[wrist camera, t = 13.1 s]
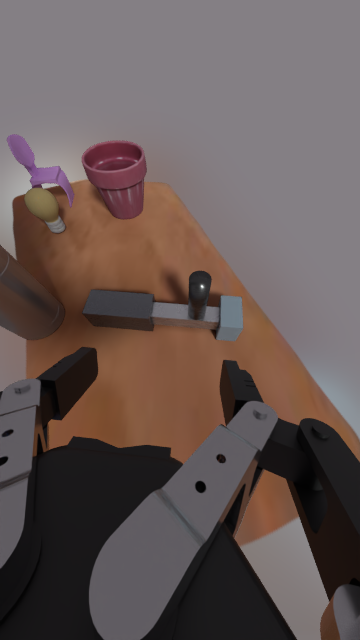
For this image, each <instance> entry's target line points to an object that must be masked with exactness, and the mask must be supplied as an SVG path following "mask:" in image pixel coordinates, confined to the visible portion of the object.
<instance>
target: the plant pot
mask: <svg viewBox="0 0 360 640" xmlns="http://www.w3.org/2000/svg"><path fill="white" fill-rule="evenodd" d="M82 163H83V166H84V169H85V172H86V174H87V177H88V179H89V181H90V182H91V183H92V184H93V185H95V186H96V188H97V189H98V191H99V193H100V195H101V196H102V198H103V200H104V201H105V203H106V205H107V206H108V208H109V210H110V212H111V213H112V215H113V216H114V217H116V218H119V219H131V218H134V217H136V216H138V215H139V214H140V213H141V212H142V210H143V198H144V177H145V175H146V172H147V168H146V161H145V156H144V151H143V149H142V148H141V147H140V146H139V145H137V144H135V143H133V142H128V141H107V142H102V143H99V144H96V145H94V146H92V147H90V148H89V149H87V150H86V151H85V152H84V153H83V156H82Z"/></svg>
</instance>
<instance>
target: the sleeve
mask: <svg viewBox="0 0 360 640" xmlns="http://www.w3.org/2000/svg"><path fill="white" fill-rule="evenodd" d="M153 302H155V298H154V294H142V293H129V292H116V291H103V290H91V291H90V294H89V297H88V299H87V302H86V304H85V307H84V309H83V312H82V314H83V315H84V316H85V317H86V318H87V319H88V320H89V321H90V322H91V323H92V324H93V325H94V326H100V327H111V328H122V329H133V330H144V331H153V328H154V324H152V322H151V319H150V315H151V310H152V305H153Z"/></svg>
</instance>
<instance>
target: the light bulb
mask: <svg viewBox="0 0 360 640" xmlns="http://www.w3.org/2000/svg"><path fill="white" fill-rule="evenodd" d="M24 200H25V203H26V206H27V208H28V209H29V210H30V212H31V213H32V214H34V215H35V216H36V217H38V218H40V219H43V220H45V223H46V224H47V225H48V227H49V228H50V230H51V231H52V232H53V233H61V232H63V231H64V230H65V224H64V223H63V221H62V220H61V218H60V216H58V213H59V205H58V202H57V200H56V198H55V197H54V195H53V194H52V193H50V192H49V191H47V190H46V189H43V188H32V189H30V190H29V191H28V192H27V193H26V194H25V198H24Z"/></svg>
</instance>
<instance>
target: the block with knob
mask: <svg viewBox="0 0 360 640" xmlns="http://www.w3.org/2000/svg"><path fill="white" fill-rule="evenodd" d="M211 280H212V279H211V276H210V275H209V274H208V273H207V272H205V271H195V272H193V273H192V274H191V275H190V277H189V298H188V305H184V304H171V303H158V302H153V305H152V310H151V315H150V319H151V322H152V324H156V325H167V326H179V327H190V328H202V329H213V330H218V328H219V325H220V307H209V306H207V302H208V297H209V291H210V286H211Z"/></svg>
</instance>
